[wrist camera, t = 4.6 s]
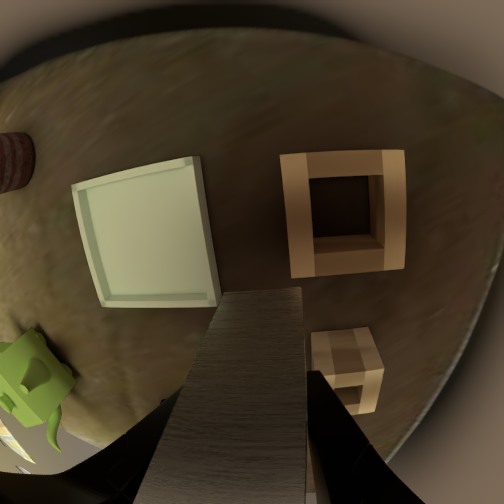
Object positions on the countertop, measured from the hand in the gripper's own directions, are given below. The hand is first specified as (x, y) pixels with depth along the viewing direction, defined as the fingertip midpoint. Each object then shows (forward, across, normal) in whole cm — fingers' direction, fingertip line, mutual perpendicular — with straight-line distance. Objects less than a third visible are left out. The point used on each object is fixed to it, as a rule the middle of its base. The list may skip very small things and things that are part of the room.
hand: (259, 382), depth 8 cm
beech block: (+14, -4, +11) cm, 18 cm away
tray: (+14, +10, -2) cm, 17 cm away
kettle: (+13, +33, +14) cm, 38 cm away
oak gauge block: (+14, -5, -2) cm, 15 cm away
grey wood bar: (+3, 0, 0) cm, 3 cm away
